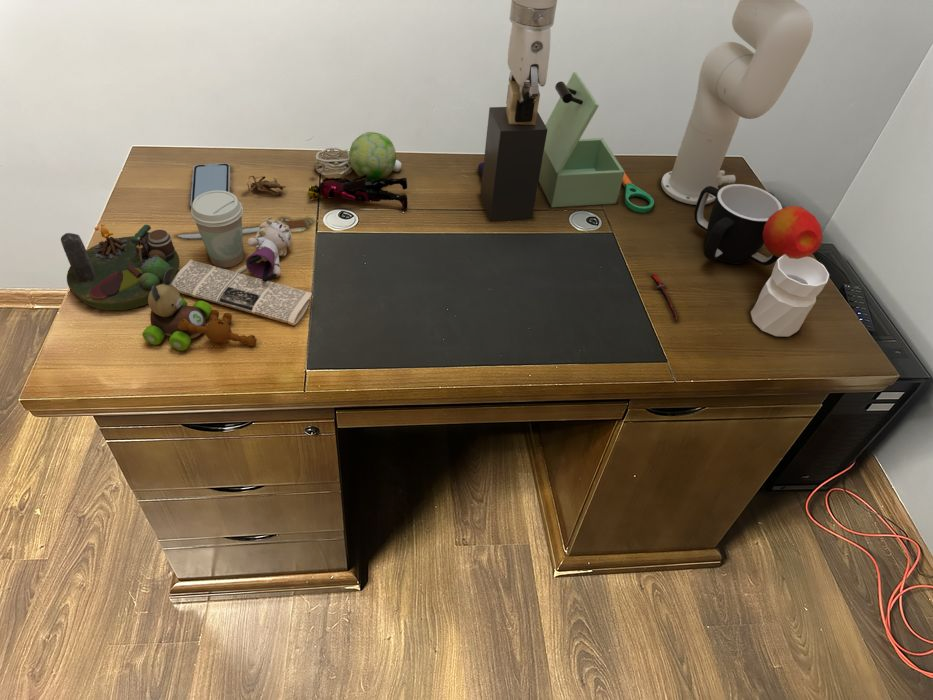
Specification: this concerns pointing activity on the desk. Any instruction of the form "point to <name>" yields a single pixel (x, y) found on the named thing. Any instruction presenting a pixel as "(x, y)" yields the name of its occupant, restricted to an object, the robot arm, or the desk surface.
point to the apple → (792, 233)
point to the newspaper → (242, 292)
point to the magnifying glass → (636, 192)
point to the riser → (511, 166)
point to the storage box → (583, 176)
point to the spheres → (397, 166)
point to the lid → (568, 120)
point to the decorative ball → (372, 156)
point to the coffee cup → (220, 226)
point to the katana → (665, 294)
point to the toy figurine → (218, 329)
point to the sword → (293, 226)
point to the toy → (268, 249)
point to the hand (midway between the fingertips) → (518, 112)
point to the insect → (265, 185)
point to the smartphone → (210, 179)
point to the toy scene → (119, 267)
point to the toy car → (173, 315)
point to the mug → (736, 223)
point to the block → (512, 102)
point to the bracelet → (328, 166)
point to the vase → (789, 295)
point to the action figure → (359, 189)
